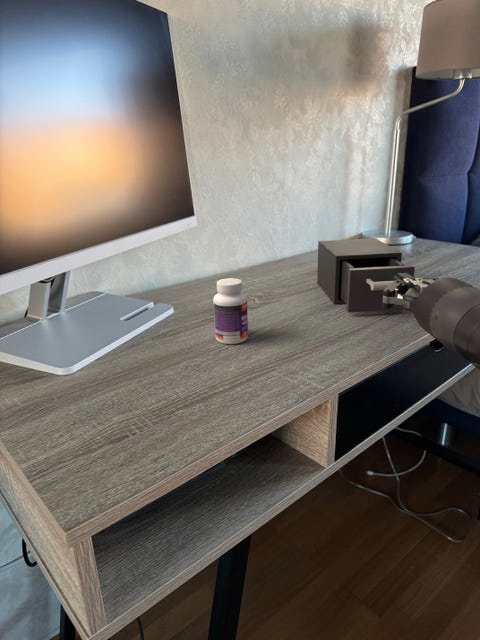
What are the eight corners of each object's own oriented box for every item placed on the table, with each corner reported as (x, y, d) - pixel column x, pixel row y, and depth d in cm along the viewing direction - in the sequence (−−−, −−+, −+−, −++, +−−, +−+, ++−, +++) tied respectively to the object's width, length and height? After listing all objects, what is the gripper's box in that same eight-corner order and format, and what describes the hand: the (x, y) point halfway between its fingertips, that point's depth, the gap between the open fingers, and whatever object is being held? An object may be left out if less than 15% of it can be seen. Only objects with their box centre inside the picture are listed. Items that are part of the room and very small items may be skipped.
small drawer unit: (397, 300, 87) (402, 252, 84) (334, 304, 87) (336, 256, 83) (372, 280, 101) (375, 238, 97) (317, 283, 100) (318, 241, 97)
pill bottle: (249, 344, 71) (248, 285, 67) (216, 346, 70) (212, 287, 67) (246, 331, 76) (245, 275, 72) (215, 333, 75) (211, 277, 72)
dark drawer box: (420, 317, 76) (425, 273, 73) (355, 321, 76) (358, 276, 73) (383, 287, 93) (386, 250, 90) (329, 290, 92) (330, 253, 89)
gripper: (404, 350, 53) (356, 305, 69) (509, 343, 54) (438, 299, 70) (410, 290, 51) (359, 257, 67) (521, 284, 51) (444, 253, 68)
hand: (400, 279), depth 68 cm, fingers closed
